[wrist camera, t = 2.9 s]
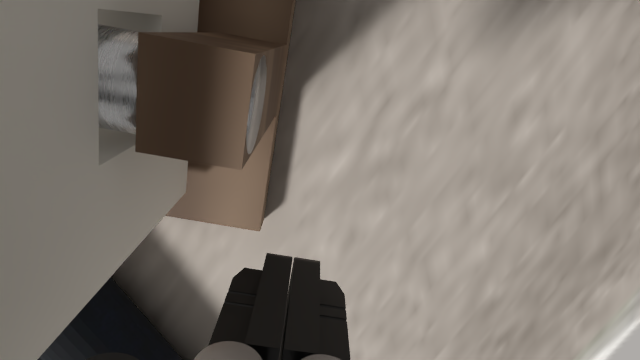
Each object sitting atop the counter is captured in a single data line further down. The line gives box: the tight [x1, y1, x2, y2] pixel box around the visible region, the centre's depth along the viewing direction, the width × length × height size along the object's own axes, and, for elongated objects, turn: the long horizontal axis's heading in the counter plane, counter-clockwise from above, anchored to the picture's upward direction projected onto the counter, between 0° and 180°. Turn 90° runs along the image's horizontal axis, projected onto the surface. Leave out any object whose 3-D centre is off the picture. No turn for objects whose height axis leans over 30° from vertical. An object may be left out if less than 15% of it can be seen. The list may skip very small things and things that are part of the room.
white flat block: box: [0, 0, 199, 360], centre depth 12 cm, size 2×12×12 cm, turn 170°
